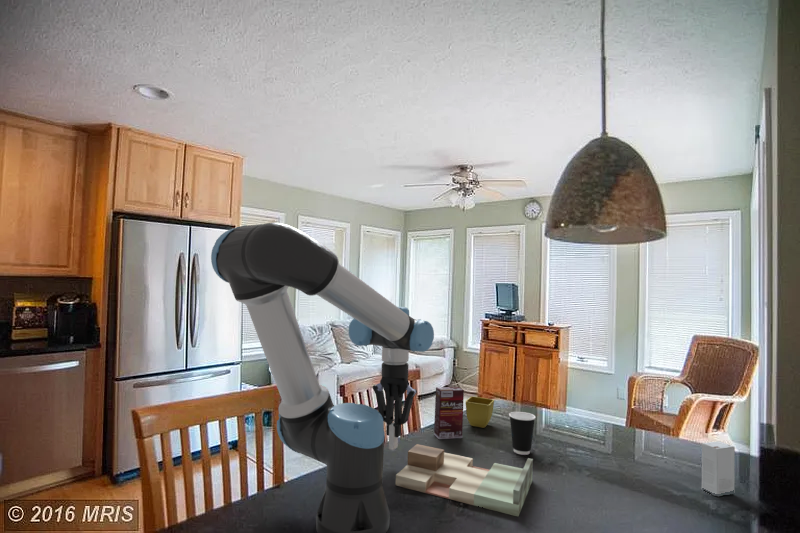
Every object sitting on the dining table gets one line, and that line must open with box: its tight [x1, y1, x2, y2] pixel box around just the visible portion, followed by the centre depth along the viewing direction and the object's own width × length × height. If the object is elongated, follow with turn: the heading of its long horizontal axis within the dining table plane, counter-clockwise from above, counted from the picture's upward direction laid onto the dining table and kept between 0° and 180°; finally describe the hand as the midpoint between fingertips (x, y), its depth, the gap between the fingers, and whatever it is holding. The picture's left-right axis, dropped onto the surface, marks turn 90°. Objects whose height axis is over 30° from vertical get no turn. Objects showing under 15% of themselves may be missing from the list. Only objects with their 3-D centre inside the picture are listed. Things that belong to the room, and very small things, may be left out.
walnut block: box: [406, 443, 445, 471], centre depth 114 cm, size 6×8×4 cm
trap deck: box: [395, 452, 534, 517], centre depth 109 cm, size 20×30×6 cm, turn 64°
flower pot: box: [465, 396, 495, 429], centre depth 156 cm, size 9×9×9 cm
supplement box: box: [433, 386, 465, 440], centre depth 143 cm, size 9×5×16 cm, turn 105°
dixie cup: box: [508, 411, 537, 456], centre depth 132 cm, size 8×8×11 cm
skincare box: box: [701, 441, 736, 494], centre depth 108 cm, size 6×4×12 cm
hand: (393, 447), depth 119 cm, fingers closed
